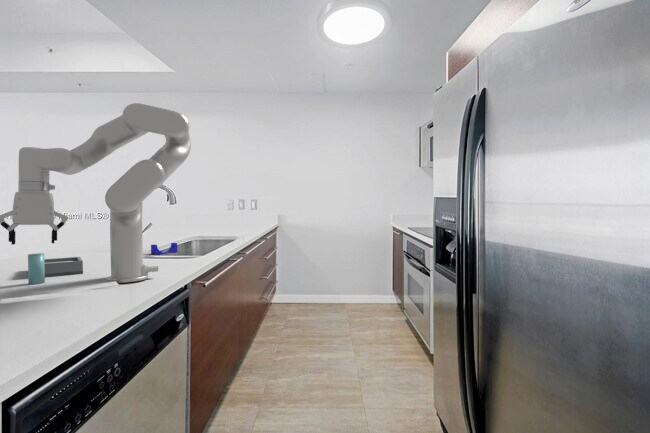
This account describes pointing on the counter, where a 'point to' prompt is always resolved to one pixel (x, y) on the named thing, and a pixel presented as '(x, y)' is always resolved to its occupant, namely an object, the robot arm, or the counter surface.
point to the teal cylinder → (36, 268)
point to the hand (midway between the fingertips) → (33, 243)
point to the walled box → (63, 266)
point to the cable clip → (172, 249)
